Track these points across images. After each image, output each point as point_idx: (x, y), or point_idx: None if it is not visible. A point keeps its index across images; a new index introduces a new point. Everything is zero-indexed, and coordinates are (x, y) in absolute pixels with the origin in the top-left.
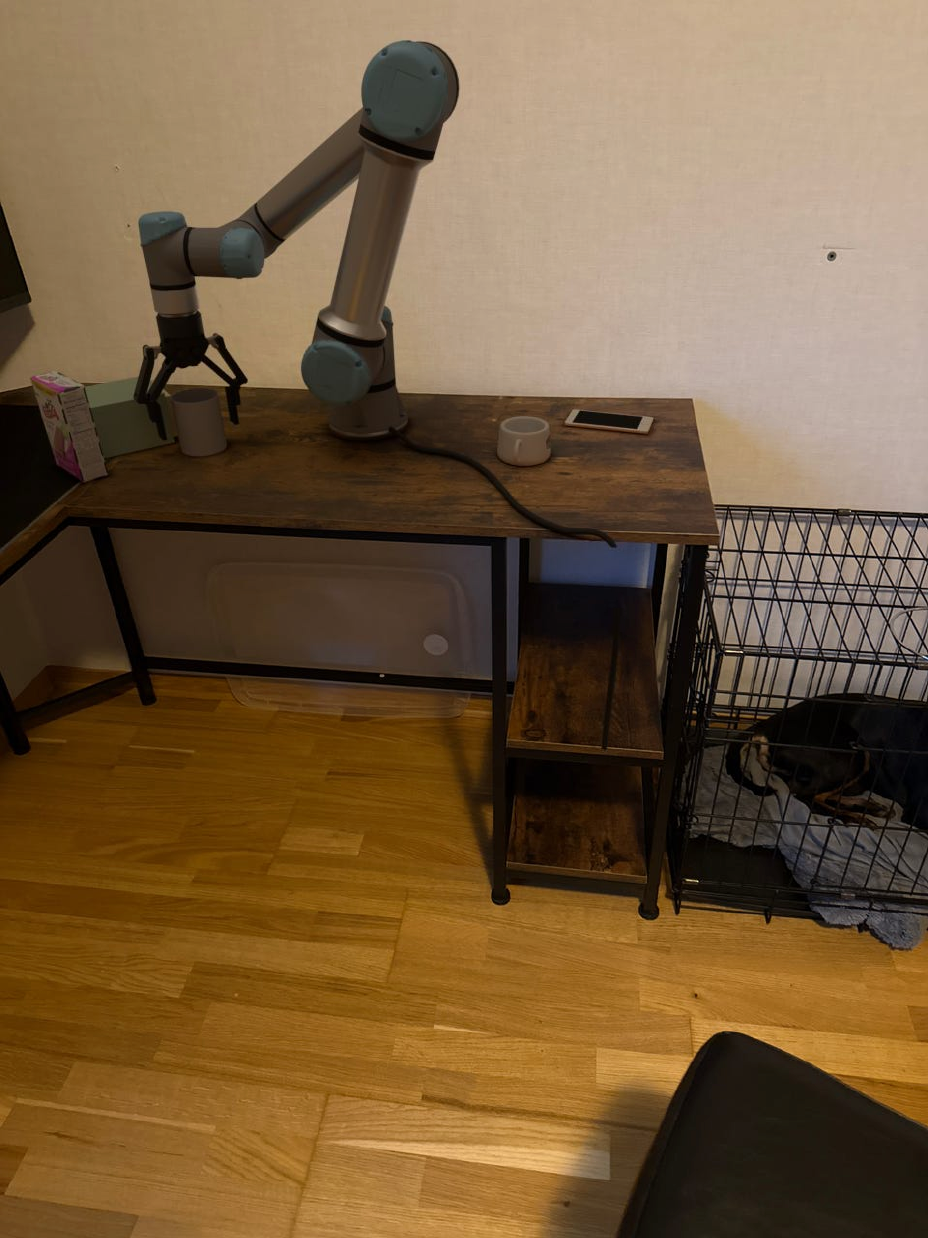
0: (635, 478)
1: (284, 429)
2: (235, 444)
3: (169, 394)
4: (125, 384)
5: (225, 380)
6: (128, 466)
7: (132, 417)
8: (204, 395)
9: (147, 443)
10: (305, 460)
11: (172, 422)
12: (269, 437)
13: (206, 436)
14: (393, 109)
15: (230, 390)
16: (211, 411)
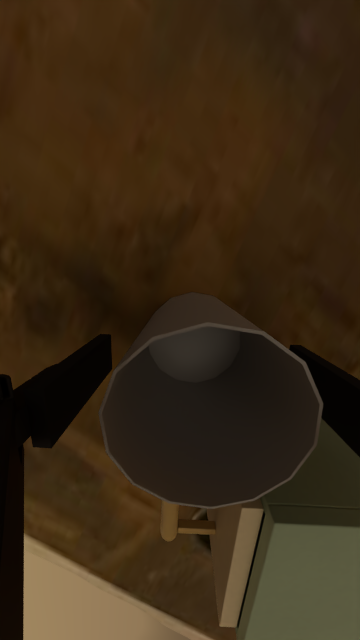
0: None
1: (17, 325)
2: (134, 314)
3: (240, 518)
4: (322, 633)
5: (6, 442)
6: (349, 342)
7: (350, 463)
8: (145, 452)
9: None
10: (22, 100)
11: None
12: (59, 304)
13: (206, 299)
14: None
15: (39, 395)
16: (178, 315)
